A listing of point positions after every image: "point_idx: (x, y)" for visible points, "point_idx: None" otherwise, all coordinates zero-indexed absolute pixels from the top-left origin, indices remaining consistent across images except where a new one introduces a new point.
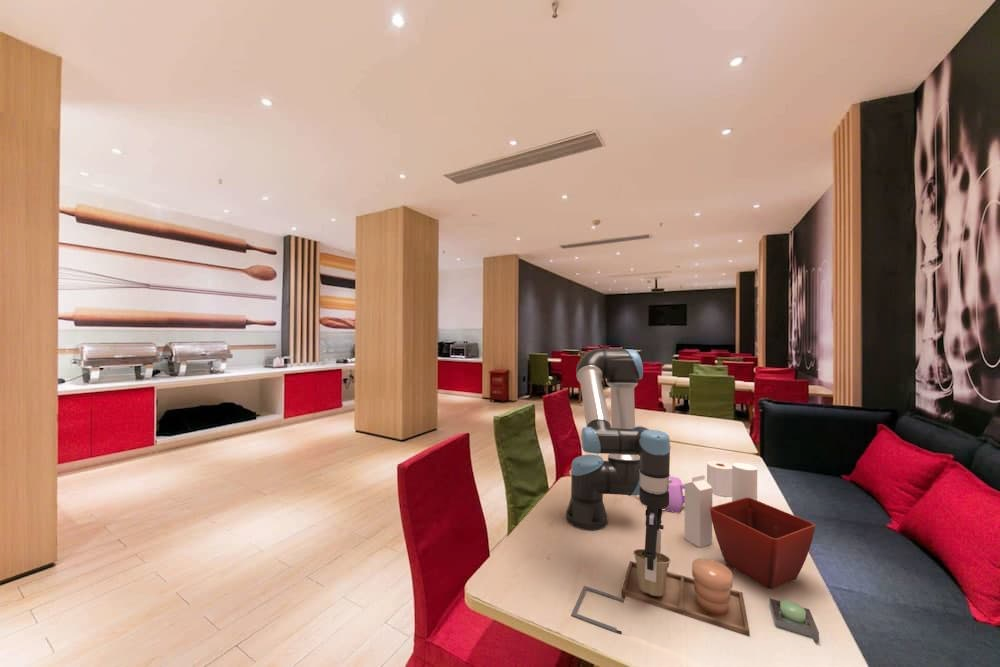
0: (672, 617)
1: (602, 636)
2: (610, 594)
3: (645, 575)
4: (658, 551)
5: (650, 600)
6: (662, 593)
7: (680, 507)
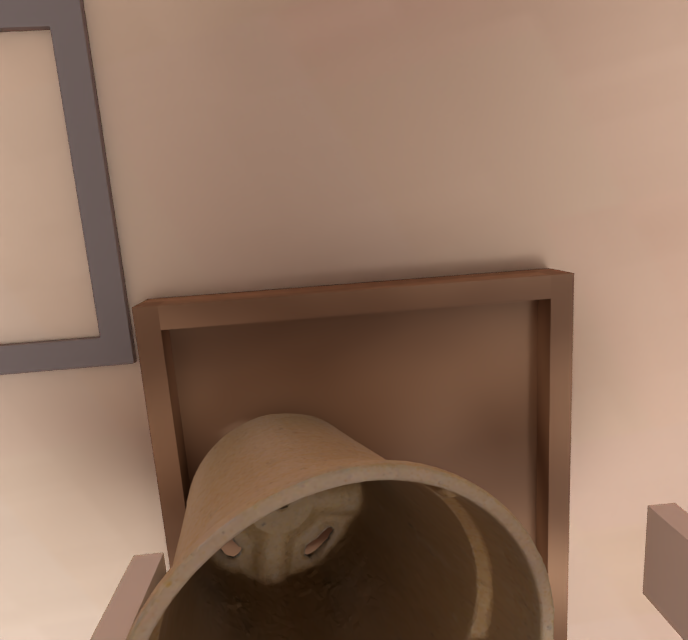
0: None
1: None
2: (112, 224)
3: (123, 587)
4: (653, 589)
5: (163, 511)
6: (247, 587)
7: None
